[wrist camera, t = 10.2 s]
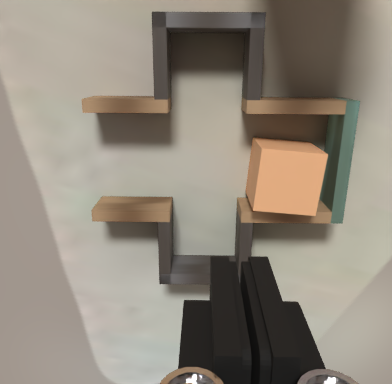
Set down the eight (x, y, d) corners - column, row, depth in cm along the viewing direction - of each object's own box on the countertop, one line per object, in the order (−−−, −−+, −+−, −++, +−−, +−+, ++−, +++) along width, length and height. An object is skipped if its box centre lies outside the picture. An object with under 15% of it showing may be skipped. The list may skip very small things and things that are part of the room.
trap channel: (352, 19, 29) (372, 12, 26) (320, 265, 36) (333, 285, 33) (88, 18, 29) (73, 11, 26) (107, 263, 36) (98, 283, 33)
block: (309, 142, 32) (328, 154, 27) (299, 195, 34) (315, 216, 29) (252, 137, 32) (262, 148, 27) (245, 190, 34) (253, 210, 29)
